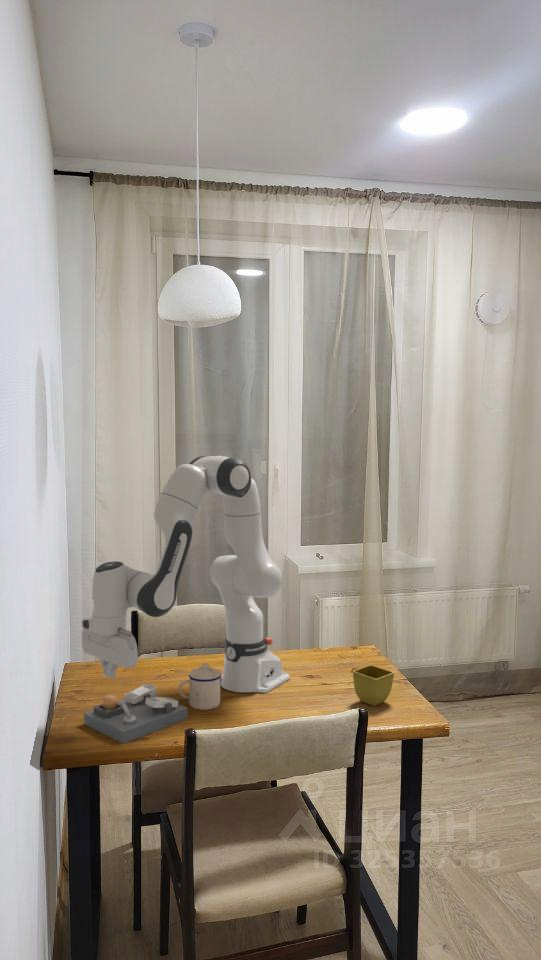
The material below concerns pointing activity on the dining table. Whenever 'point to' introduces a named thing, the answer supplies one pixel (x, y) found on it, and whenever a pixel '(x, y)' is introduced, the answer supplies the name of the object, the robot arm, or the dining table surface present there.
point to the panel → (133, 719)
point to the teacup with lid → (203, 687)
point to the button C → (109, 701)
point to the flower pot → (372, 684)
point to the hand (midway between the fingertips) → (109, 676)
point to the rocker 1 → (140, 693)
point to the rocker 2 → (160, 702)
